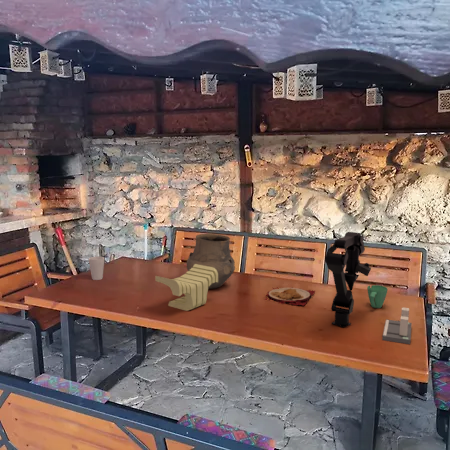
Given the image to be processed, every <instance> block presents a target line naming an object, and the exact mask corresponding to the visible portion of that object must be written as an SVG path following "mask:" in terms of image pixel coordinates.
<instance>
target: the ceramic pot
mask: <svg viewBox="0 0 450 450" xmlns="http://www.w3.org/2000/svg"><path fill="white" fill-rule="evenodd" d="M230 239H231V237H229V236H227V235H224V234H215V233H201V234H197V235H195V246H194V249H193V252H191V251H190V253H189V256H188V258H187V260H186V269H187V272H188V271H189V270H190V269H191V268H193V266H194V265H195V264H198V265H203V266H208V267H213V268H215V269H216V270H217V272H218V282H215V283H211V285H210V286H209V287H208V290H209V289H210V290H211V289H217V288H221V286H224V285H223V284H225V283H226V282H227V280H229V279H230V277H231V276H232V275H233V273H234V272H235V269H236V267H235V266H236V265H235V260H234V257H232V255H231V249H230Z"/></svg>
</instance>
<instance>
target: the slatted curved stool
mask: <svg viewBox="0 0 450 450" xmlns="http://www.w3.org/2000/svg"><path fill="white" fill-rule="evenodd" d="M154 280H155V282H158V283H161V284H163V285H165V286H167V287H168V288H170V291H171V292H172V296H176V297H178V298H176V299H174V300H170V301H168V305H167V306H168V307H171V308H174V309H179V310H182V311H187V312H188V311H190V310H193V309H196V308H198V307H200V306H203V305H205V304H206V303H207V299H208V298H207V297H208V291H209V289H208V287H209V286H210V285H211V283H215V282H218V272H217V270H216V269H215V268H213V267H208V266H203V265H198V264H195V265H194V266H193V268H191V269H190V270H189V271H188V270H187V271H186V272H185V273H184V274H182V275H180V276H178V277H175V278H168V277H162V276H158V275H155V279H154ZM183 294H184V296H182V295H183Z"/></svg>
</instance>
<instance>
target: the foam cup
mask: <svg viewBox="0 0 450 450" xmlns="http://www.w3.org/2000/svg"><path fill="white" fill-rule="evenodd" d="M88 264H89V269H90V273H91V279H92V280H94V281H99V280H102V279H103V277H104V268H105V257H104V256H99V255H97V256H91V257H89V258H88Z"/></svg>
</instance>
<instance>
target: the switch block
mask: <svg viewBox="0 0 450 450" xmlns="http://www.w3.org/2000/svg"><path fill="white" fill-rule="evenodd" d="M399 334H400V320H395V319H394V320H393V319H392V320H391V319H387V318H386V319H385V322H384V327H383V332H382V337H381V340H382V341H387V342H393V343H398V344H406V345H411V340H412V339H411V338H412V322H409V321H408V331H407V336H401V335H399Z"/></svg>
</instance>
